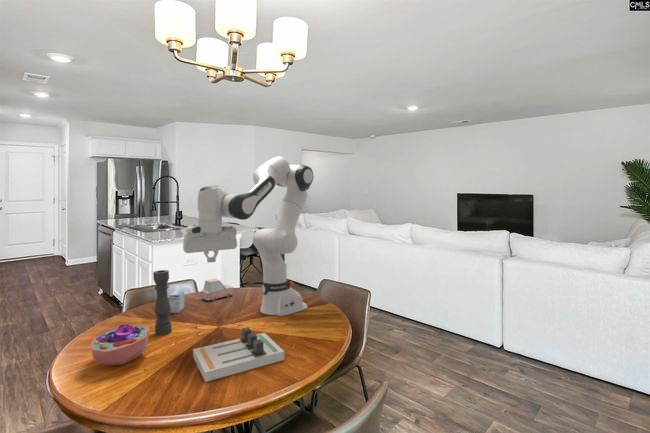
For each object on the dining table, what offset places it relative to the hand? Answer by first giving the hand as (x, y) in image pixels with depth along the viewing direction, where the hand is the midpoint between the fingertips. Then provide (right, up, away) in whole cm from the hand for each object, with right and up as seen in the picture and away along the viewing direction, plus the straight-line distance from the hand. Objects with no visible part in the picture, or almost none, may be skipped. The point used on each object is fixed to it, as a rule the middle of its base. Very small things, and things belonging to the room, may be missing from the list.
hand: (211, 262), depth 139 cm
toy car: (-12, -26, +49) cm, 57 cm away
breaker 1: (+16, -27, -11) cm, 33 cm away
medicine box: (-26, -27, +30) cm, 48 cm away
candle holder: (-21, -29, +4) cm, 36 cm away
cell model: (-24, -31, -19) cm, 44 cm away
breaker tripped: (+20, -27, -16) cm, 37 cm away
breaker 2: (+23, -28, -22) cm, 42 cm away
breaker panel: (+15, -31, -19) cm, 39 cm away
